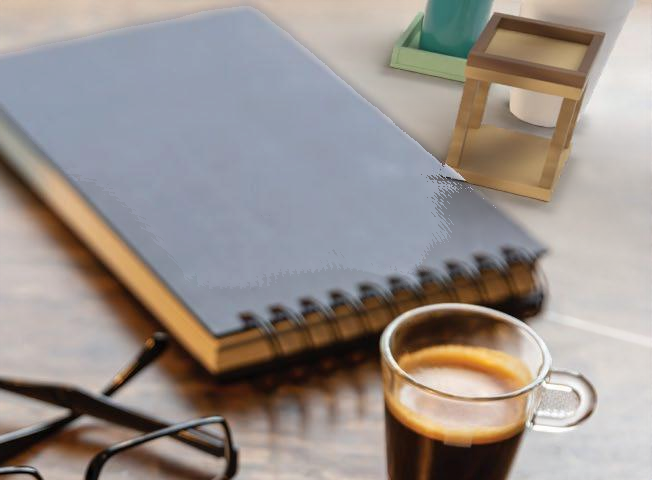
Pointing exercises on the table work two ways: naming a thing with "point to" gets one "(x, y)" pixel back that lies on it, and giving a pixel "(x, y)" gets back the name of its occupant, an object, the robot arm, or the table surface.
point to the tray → (424, 56)
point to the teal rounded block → (453, 26)
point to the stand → (531, 74)
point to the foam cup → (577, 11)
